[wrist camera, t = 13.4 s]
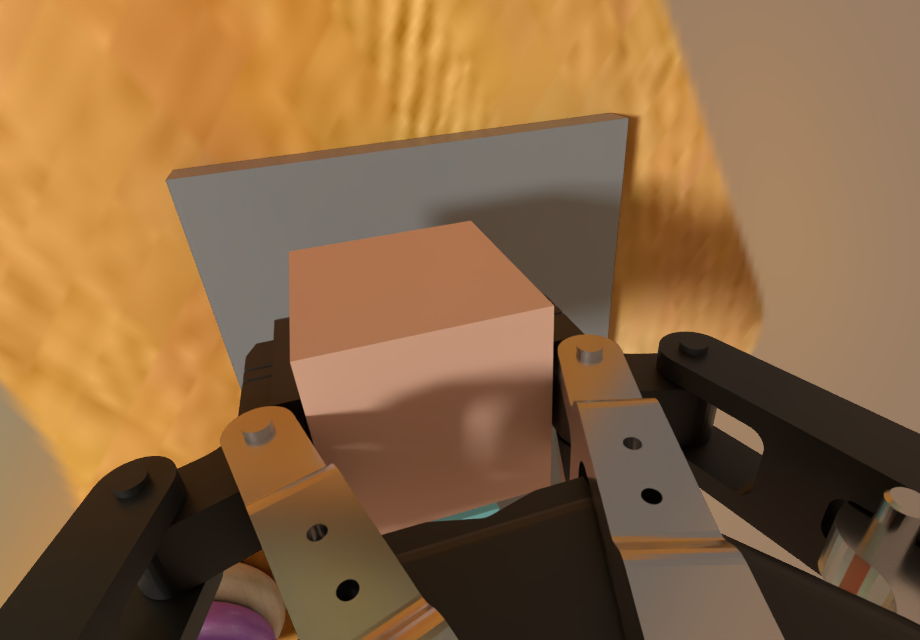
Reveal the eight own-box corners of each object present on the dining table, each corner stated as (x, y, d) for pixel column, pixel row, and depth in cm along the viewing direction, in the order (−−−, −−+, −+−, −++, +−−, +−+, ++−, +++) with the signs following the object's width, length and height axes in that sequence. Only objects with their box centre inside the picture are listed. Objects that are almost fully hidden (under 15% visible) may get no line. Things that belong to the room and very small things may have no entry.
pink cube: (480, 365, 16) (550, 486, 12) (327, 401, 15) (343, 546, 11) (470, 220, 13) (554, 305, 9) (288, 251, 13) (290, 361, 8)
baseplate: (582, 468, 29) (594, 486, 28) (305, 548, 26) (306, 571, 24) (610, 112, 19) (630, 118, 18) (172, 170, 16) (164, 181, 15)
